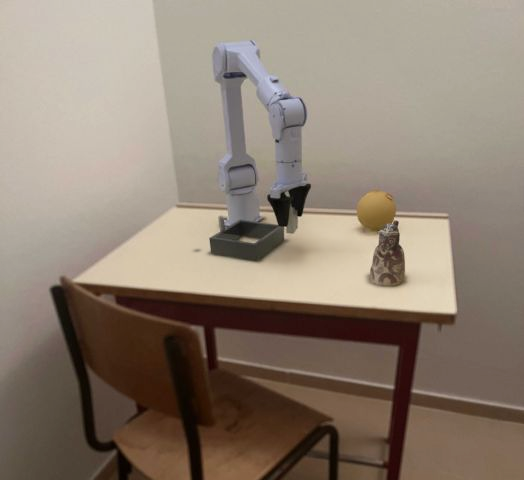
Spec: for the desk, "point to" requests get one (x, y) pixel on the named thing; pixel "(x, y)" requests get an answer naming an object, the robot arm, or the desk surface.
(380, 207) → the stress ball
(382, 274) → the figurine
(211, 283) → the desk surface
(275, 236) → the sink
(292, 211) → the lighter
